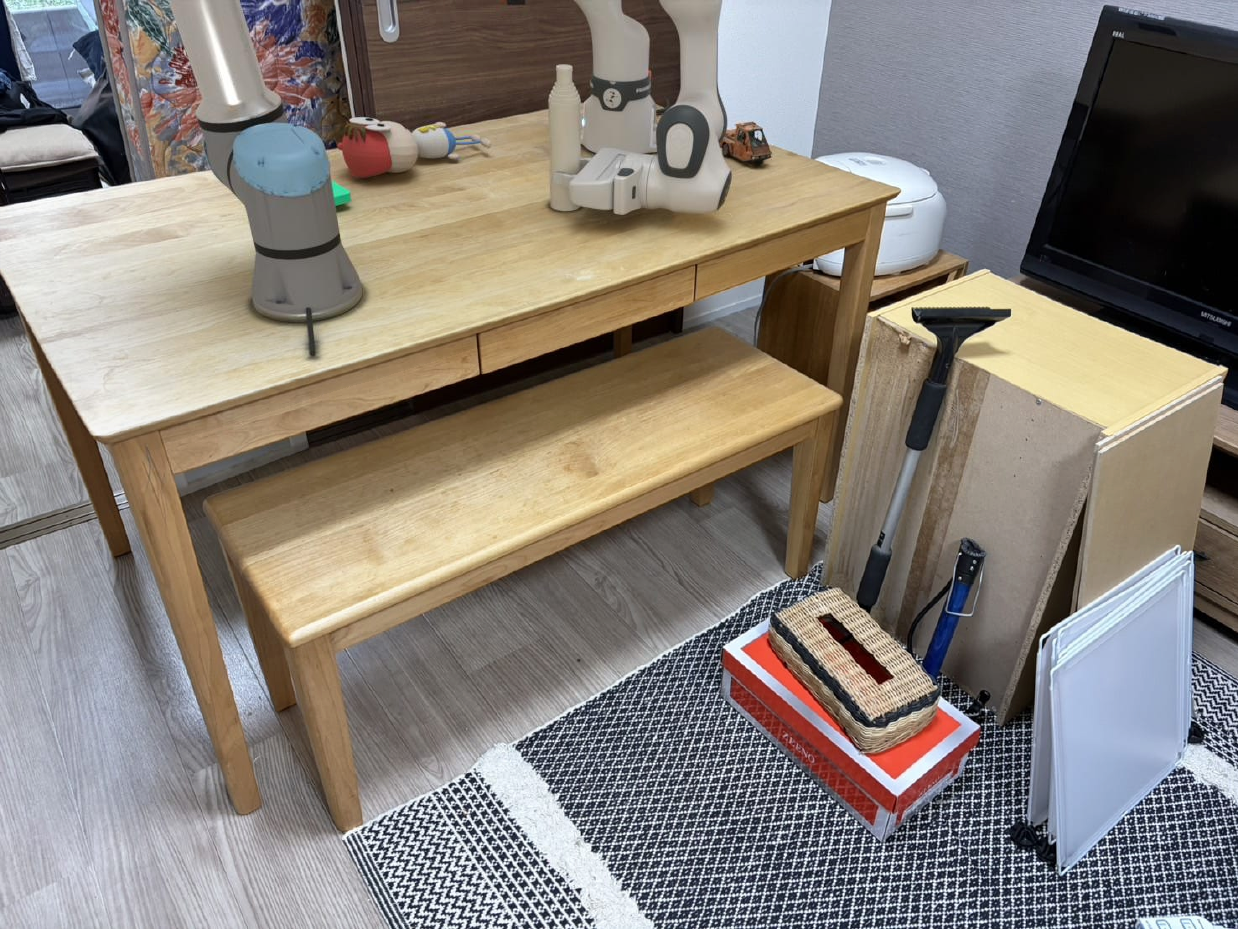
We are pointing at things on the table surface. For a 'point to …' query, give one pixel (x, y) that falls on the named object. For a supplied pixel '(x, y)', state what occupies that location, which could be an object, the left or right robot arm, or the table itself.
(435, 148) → the toy
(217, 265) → the table surface
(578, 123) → the bottle
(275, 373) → the table surface
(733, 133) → the toy car
